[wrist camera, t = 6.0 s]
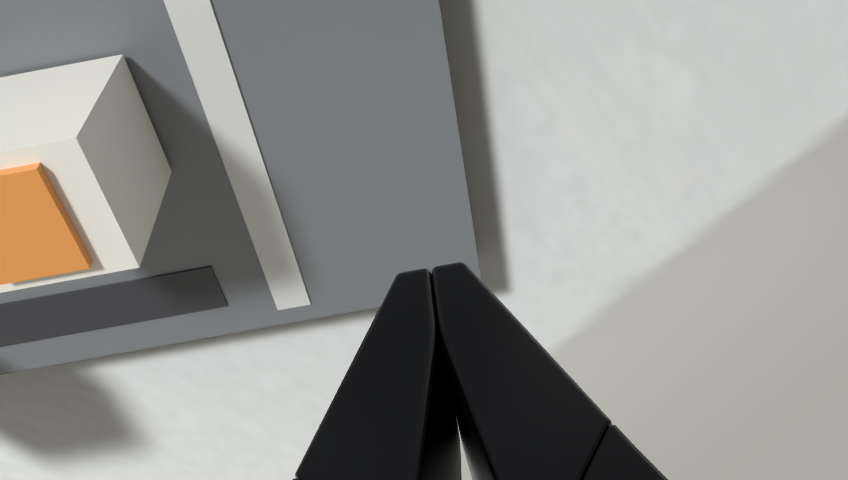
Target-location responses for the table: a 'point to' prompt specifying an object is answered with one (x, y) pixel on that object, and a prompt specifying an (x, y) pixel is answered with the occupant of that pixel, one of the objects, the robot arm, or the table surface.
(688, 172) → the table surface
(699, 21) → the table surface
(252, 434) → the table surface
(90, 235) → the orange patched ivory cube
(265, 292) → the panel
